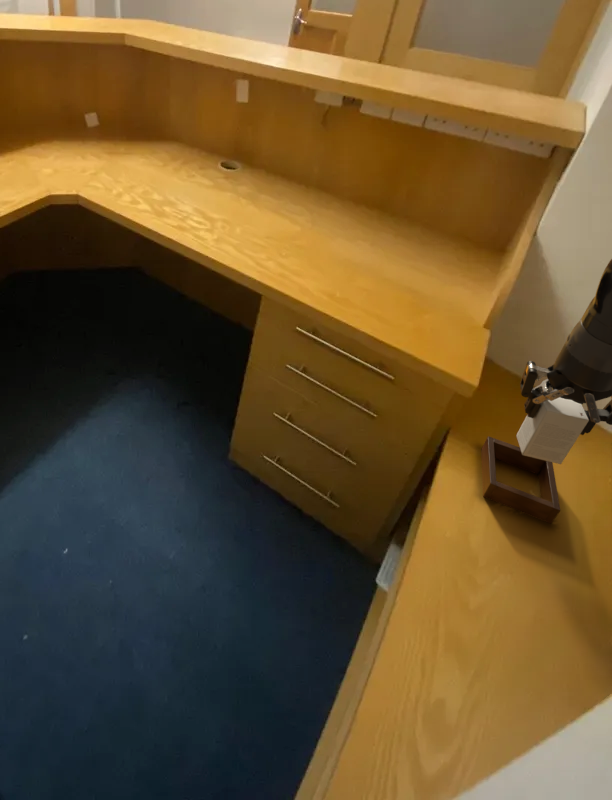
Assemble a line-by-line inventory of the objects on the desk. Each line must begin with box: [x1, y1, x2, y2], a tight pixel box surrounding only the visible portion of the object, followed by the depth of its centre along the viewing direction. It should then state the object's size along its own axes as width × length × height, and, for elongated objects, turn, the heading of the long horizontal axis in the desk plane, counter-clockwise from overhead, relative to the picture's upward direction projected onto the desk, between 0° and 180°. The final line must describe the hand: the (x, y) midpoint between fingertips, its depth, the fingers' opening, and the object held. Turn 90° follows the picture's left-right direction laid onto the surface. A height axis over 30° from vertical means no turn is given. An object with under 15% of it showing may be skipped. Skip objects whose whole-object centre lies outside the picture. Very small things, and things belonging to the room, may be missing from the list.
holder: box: [480, 435, 561, 524], centre depth 95 cm, size 11×11×6 cm
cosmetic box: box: [515, 397, 589, 465], centre depth 86 cm, size 6×4×12 cm
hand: (554, 421), depth 85 cm, fingers closed on cosmetic box, 6 cm apart
